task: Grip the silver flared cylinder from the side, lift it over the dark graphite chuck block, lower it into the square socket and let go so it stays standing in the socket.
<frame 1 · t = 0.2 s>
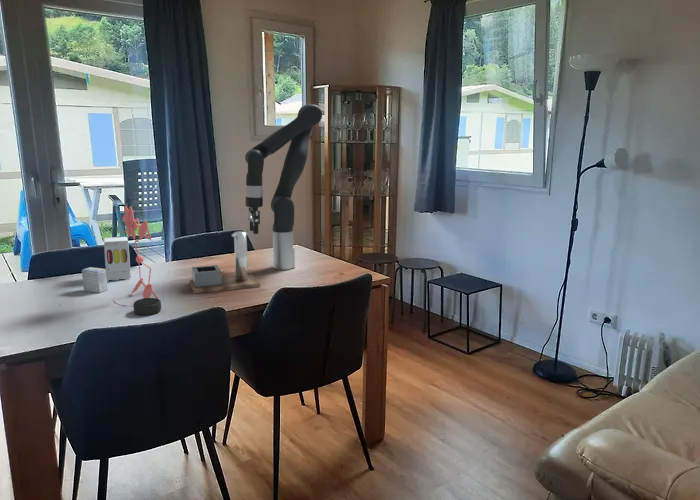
hand: (253, 232, 234), 17 cm above the table, tool pointing down, fingers open, 8 cm apart
smart speaker: (147, 312, 183), on the table
white paper stack: (95, 291, 206), on the table
supplement box: (119, 278, 224), on the table
figurine: (134, 299, 196), on the table
chuck: (207, 287, 212), resting on stand board
silver flared cylinder: (241, 280, 217), point 1 cm above the table, touching stand board
stand board: (224, 285, 214), on the table
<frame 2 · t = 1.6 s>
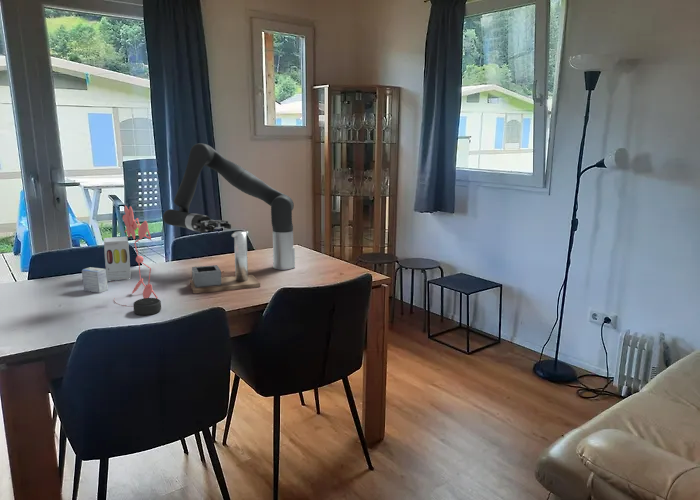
hand: (222, 227, 219), 22 cm above the table, tool horizontal, fingers open, 8 cm apart
nothing on the table moved.
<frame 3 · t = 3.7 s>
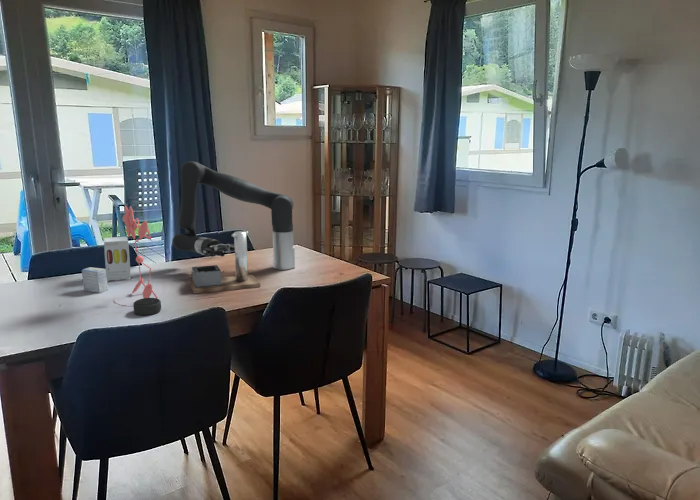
hand: (232, 252, 218), 13 cm above the table, tool horizontal, fingers open, 8 cm apart
nothing on the table moved.
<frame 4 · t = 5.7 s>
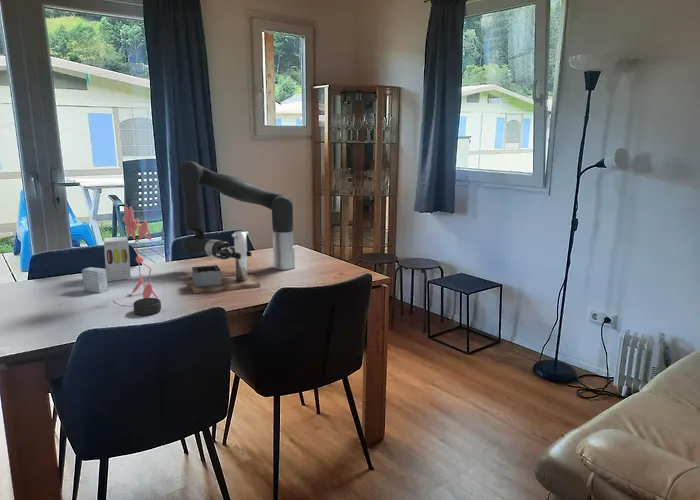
hand: (245, 255, 213), 12 cm above the table, tool horizontal, fingers closed on silver flared cylinder, 5 cm apart
silver flared cylinder: (241, 280, 217), point 2 cm above the table, touching gripper, stand board
everything else where it was.
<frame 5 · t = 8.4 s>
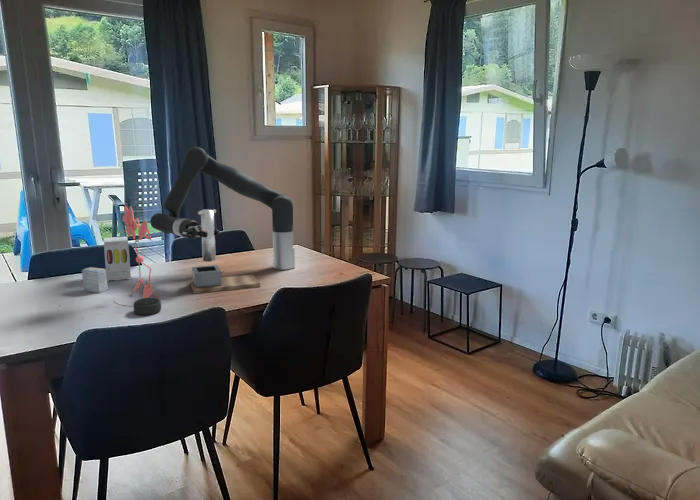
hand: (212, 233, 206), 22 cm above the table, tool horizontal, fingers closed on silver flared cylinder, 5 cm apart
silver flared cylinder: (209, 260, 210), point 11 cm above the table, touching gripper
everything else where it was.
when the fingers open (13 cm above the table, at t = 11.3 s): silver flared cylinder stays where it is, resting on stand board.
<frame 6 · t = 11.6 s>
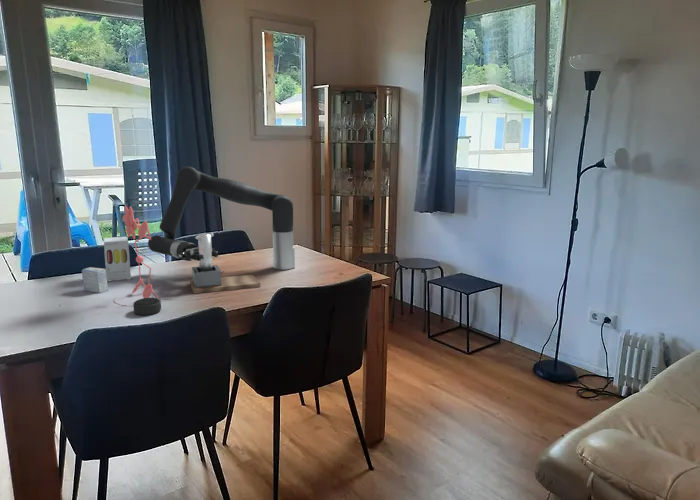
hand: (208, 256, 208), 13 cm above the table, tool horizontal, fingers open, 8 cm apart
silver flared cylinder: (206, 283, 211), point 2 cm above the table, touching stand board
everything else where it was.
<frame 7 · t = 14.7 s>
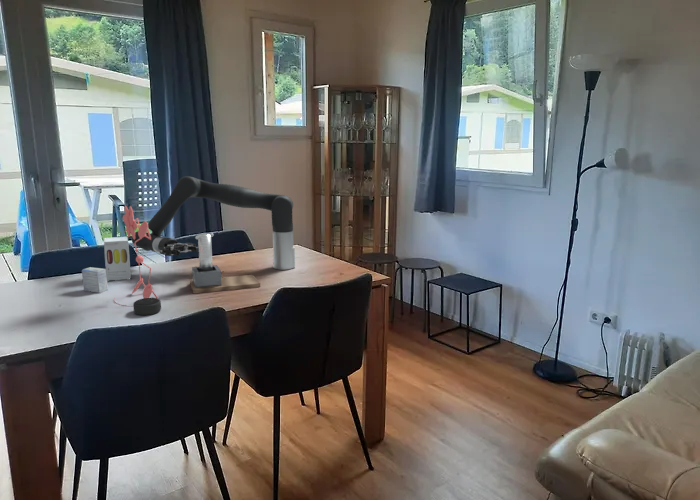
hand: (188, 251, 216), 13 cm above the table, tool horizontal, fingers open, 8 cm apart
nothing on the table moved.
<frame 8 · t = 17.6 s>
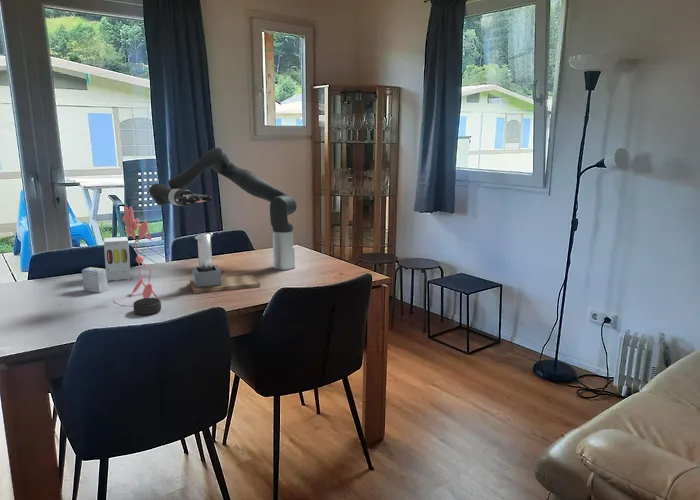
hand: (203, 200, 227), 32 cm above the table, tool horizontal, fingers open, 8 cm apart
nothing on the table moved.
at the end: silver flared cylinder 0.1 cm off-centre on the chuck, point 1.5 cm above the chuck's base; silver flared cylinder tilted 1°; the gripper is holding nothing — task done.
